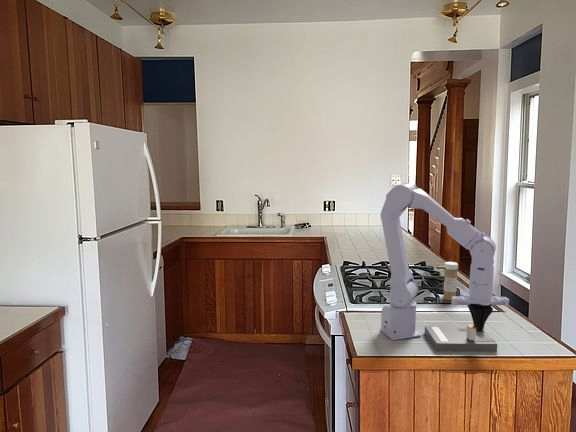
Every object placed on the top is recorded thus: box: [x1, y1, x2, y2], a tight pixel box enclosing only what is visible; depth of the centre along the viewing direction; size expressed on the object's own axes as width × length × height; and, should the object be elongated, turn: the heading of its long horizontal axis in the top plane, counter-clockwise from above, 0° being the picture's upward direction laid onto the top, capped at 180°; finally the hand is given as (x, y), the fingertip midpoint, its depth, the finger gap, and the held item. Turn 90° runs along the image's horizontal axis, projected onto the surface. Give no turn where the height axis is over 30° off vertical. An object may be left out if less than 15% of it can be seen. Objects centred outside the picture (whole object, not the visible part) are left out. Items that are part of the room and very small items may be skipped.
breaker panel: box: [424, 325, 498, 353], centre depth 125 cm, size 16×12×2 cm
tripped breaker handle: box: [466, 324, 476, 340], centre depth 121 cm, size 2×2×3 cm, turn 178°
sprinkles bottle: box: [442, 261, 459, 301], centre depth 160 cm, size 5×5×14 cm
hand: (478, 330), depth 121 cm, fingers closed
